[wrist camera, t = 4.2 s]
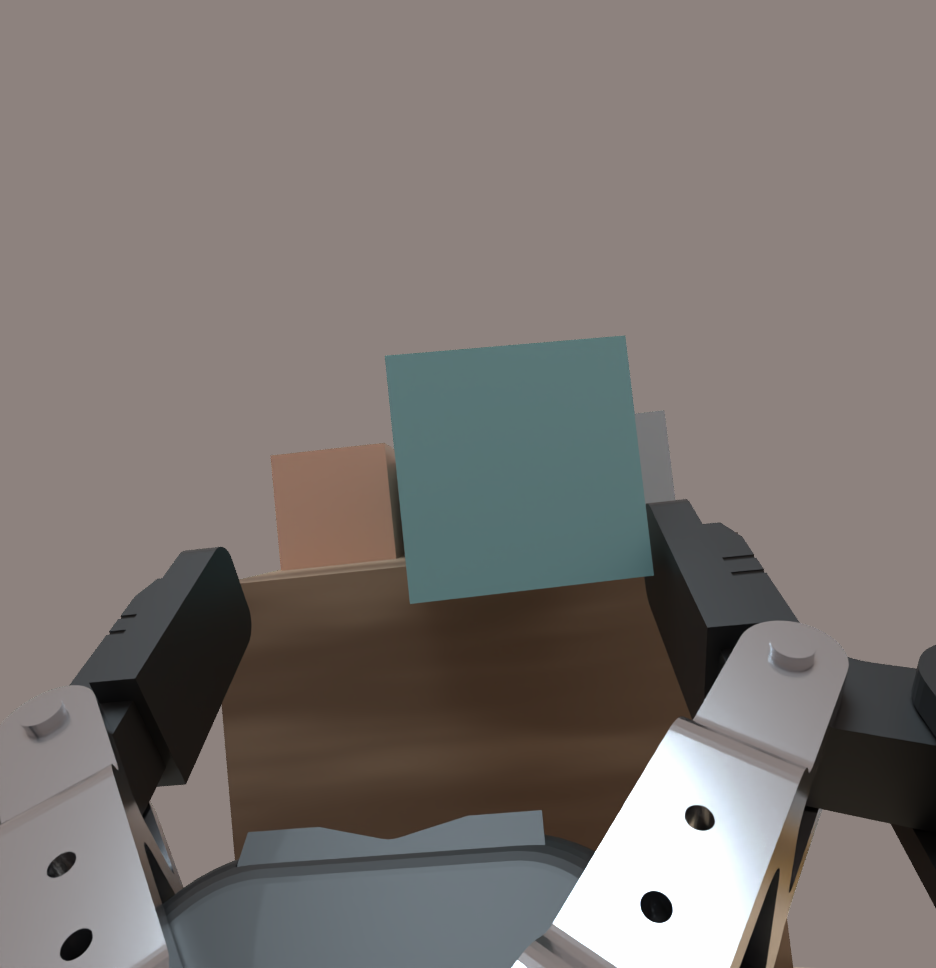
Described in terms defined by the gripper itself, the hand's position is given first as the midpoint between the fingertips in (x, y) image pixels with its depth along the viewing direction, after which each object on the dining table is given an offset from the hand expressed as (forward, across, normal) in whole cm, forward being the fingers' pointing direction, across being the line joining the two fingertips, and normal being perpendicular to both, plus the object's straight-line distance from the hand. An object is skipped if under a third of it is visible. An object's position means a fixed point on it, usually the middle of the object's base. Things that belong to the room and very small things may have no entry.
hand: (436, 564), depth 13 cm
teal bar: (+8, 0, +5) cm, 10 cm away
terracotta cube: (+13, +5, +8) cm, 16 cm away
